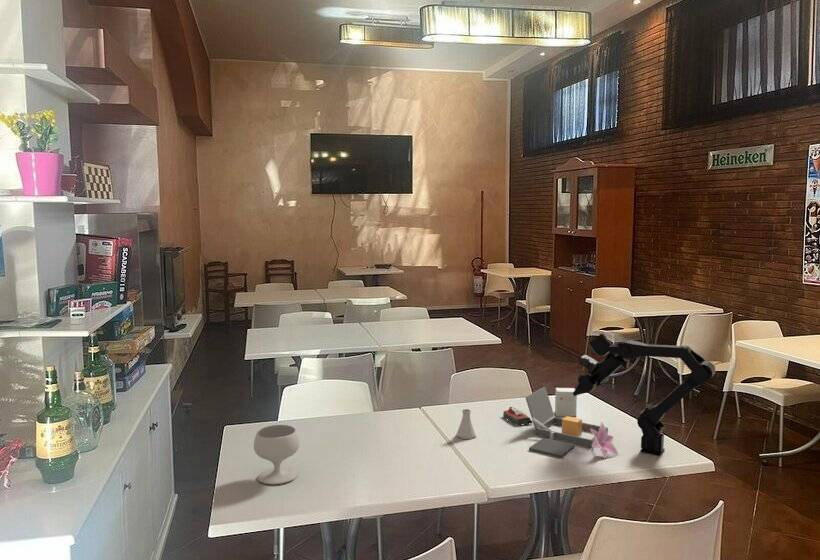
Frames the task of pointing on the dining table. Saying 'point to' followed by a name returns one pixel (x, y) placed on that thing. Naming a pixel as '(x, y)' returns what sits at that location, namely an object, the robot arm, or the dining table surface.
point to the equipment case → (553, 419)
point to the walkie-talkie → (516, 416)
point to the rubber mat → (552, 447)
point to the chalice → (276, 452)
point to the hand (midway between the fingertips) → (578, 392)
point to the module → (572, 426)
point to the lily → (603, 441)
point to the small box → (565, 402)
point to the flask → (466, 426)
